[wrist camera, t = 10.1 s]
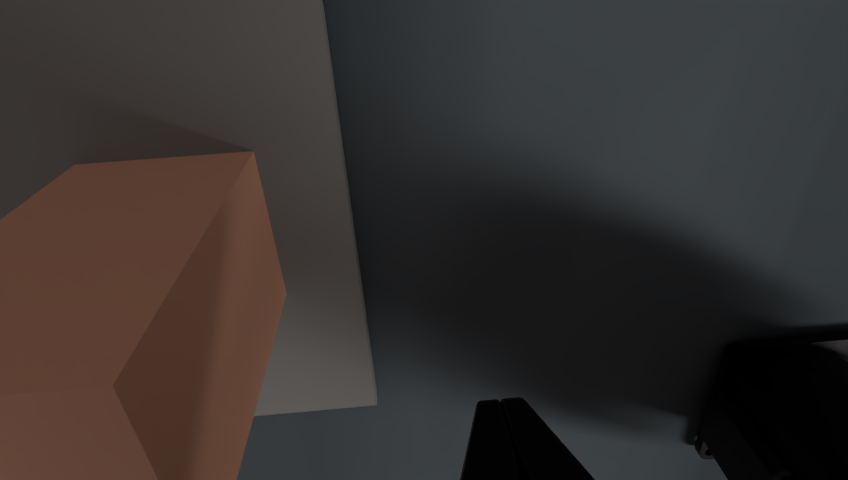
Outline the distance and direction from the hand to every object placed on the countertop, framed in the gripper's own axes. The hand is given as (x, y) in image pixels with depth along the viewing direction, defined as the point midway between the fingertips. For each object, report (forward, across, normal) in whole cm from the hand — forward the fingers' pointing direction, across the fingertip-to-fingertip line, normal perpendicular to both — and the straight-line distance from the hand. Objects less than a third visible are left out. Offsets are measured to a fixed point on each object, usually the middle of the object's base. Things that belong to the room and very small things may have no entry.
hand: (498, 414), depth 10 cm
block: (+8, +8, 0) cm, 11 cm away
